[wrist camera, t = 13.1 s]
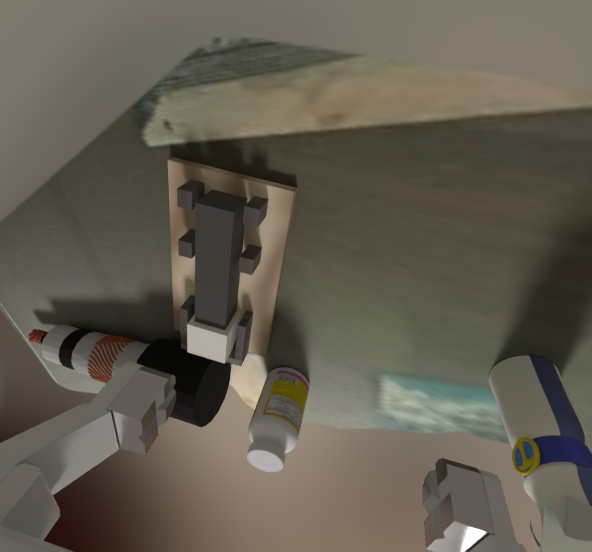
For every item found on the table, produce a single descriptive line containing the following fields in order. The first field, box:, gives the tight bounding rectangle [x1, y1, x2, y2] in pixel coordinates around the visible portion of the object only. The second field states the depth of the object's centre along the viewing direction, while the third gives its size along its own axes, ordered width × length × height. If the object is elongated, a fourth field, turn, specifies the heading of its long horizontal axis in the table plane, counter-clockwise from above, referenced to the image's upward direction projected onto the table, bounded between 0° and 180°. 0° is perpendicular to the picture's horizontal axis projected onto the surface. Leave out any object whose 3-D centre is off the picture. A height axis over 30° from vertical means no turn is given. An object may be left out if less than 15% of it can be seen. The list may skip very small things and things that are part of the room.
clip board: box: [168, 157, 297, 366], centre depth 43 cm, size 14×25×4 cm, turn 170°
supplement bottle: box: [247, 367, 309, 472], centre depth 49 cm, size 7×7×13 cm
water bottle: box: [489, 355, 592, 552], centre depth 34 cm, size 8×9×25 cm
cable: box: [28, 325, 231, 427], centre depth 54 cm, size 10×34×10 cm, turn 87°
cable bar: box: [187, 189, 247, 363], centre depth 42 cm, size 5×21×5 cm, turn 170°
